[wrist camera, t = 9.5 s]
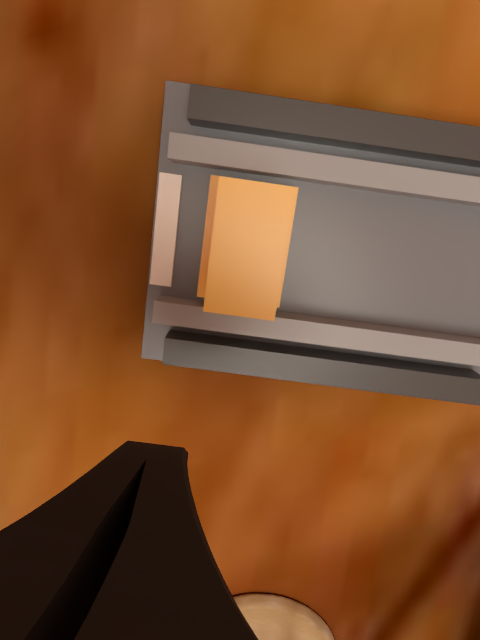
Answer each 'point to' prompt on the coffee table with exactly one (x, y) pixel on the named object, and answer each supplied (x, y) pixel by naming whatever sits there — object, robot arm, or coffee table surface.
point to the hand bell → (281, 618)
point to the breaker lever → (245, 246)
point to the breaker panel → (326, 244)
